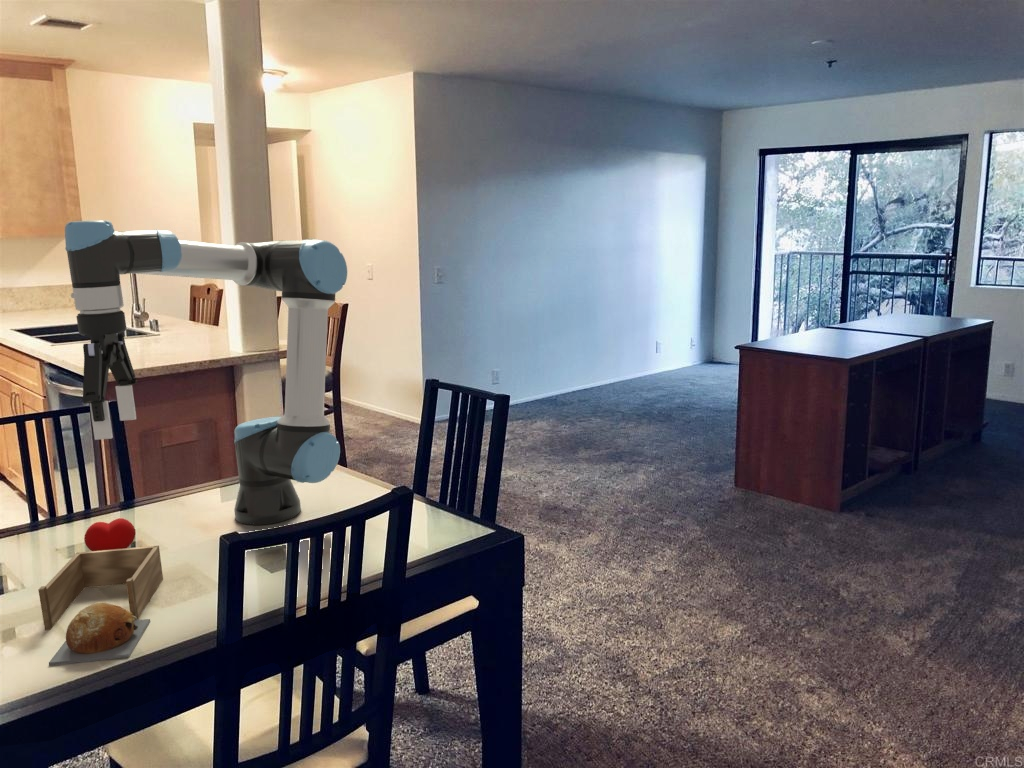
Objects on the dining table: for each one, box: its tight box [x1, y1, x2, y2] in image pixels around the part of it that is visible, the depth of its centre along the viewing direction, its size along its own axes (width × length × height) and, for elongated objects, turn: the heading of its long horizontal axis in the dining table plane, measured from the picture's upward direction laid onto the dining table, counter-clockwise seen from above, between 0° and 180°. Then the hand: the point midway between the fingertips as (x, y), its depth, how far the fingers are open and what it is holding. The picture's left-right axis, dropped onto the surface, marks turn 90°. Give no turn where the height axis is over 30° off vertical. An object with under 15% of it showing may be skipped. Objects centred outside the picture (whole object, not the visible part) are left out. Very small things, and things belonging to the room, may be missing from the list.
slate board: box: [48, 618, 151, 666], centre depth 134 cm, size 12×12×1 cm
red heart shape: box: [83, 517, 136, 551], centre depth 163 cm, size 9×7×10 cm
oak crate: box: [38, 545, 164, 631], centre depth 147 cm, size 15×17×8 cm
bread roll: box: [65, 601, 138, 654], centre depth 133 cm, size 10×10×8 cm
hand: (116, 429), depth 144 cm, fingers open, 13 cm apart
